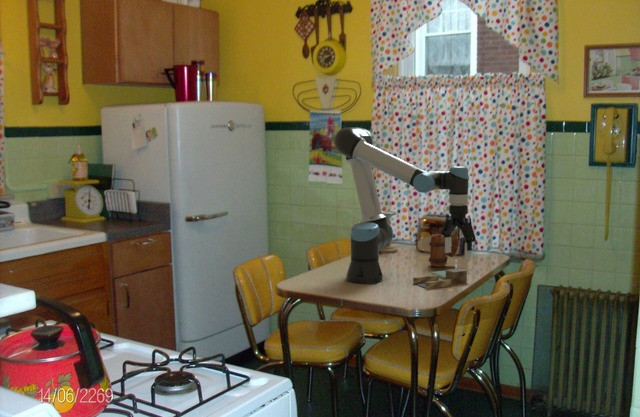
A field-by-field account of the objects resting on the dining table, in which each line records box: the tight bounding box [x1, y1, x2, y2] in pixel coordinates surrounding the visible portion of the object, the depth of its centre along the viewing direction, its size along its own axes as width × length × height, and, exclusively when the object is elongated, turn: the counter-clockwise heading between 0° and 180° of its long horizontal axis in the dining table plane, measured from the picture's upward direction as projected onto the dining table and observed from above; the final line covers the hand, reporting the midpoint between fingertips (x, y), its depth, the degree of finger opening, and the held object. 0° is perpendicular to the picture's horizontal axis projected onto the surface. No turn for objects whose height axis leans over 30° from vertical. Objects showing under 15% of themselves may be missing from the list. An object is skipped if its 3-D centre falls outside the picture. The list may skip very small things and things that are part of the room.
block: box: [444, 267, 468, 285], centre depth 269 cm, size 7×5×5 cm
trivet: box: [431, 269, 447, 280], centre depth 279 cm, size 10×10×1 cm
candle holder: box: [379, 210, 399, 254], centre depth 334 cm, size 12×12×20 cm
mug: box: [428, 232, 459, 268], centre depth 299 cm, size 15×8×15 cm, turn 105°
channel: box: [412, 274, 452, 290], centre depth 264 cm, size 12×10×2 cm
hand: (457, 255), depth 267 cm, fingers open, 13 cm apart
